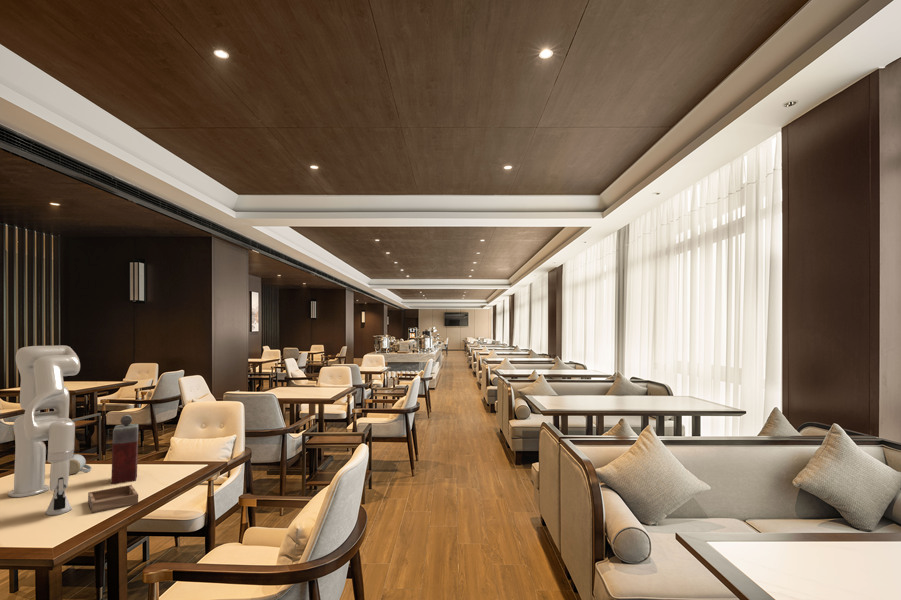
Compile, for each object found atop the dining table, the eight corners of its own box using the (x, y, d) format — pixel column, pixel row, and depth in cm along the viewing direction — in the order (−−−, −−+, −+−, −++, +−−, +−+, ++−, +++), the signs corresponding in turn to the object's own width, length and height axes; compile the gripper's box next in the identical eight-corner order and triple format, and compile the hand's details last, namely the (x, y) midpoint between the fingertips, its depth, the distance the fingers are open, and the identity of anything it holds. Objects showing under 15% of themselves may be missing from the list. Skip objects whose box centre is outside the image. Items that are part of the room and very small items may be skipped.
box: (87, 501, 188) (88, 492, 188) (131, 493, 197) (131, 484, 197) (92, 513, 176) (92, 503, 176) (138, 504, 185) (138, 494, 185)
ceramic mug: (60, 476, 221) (61, 459, 222) (65, 471, 229) (66, 454, 229) (88, 473, 226) (89, 456, 226) (93, 469, 233) (94, 452, 234)
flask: (57, 516, 173) (58, 487, 174) (40, 515, 174) (41, 486, 175) (76, 509, 180) (77, 481, 181) (60, 507, 182) (61, 480, 182)
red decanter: (137, 474, 223) (139, 412, 225) (135, 480, 214) (137, 415, 215) (113, 477, 219) (115, 414, 221) (111, 484, 209) (113, 417, 211)
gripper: (46, 453, 183) (44, 502, 181) (48, 462, 170) (46, 515, 168) (72, 449, 187) (70, 498, 186) (75, 458, 174) (73, 510, 173)
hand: (58, 506), depth 177 cm, fingers open, 6 cm apart
